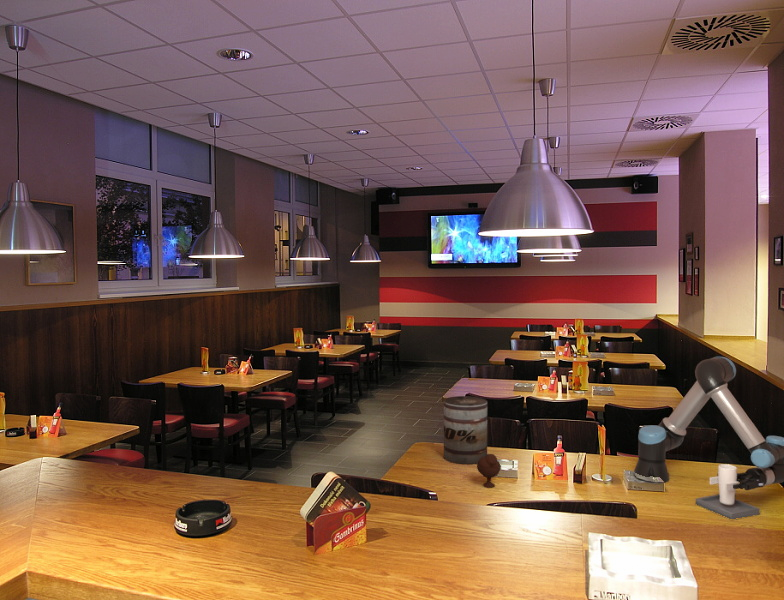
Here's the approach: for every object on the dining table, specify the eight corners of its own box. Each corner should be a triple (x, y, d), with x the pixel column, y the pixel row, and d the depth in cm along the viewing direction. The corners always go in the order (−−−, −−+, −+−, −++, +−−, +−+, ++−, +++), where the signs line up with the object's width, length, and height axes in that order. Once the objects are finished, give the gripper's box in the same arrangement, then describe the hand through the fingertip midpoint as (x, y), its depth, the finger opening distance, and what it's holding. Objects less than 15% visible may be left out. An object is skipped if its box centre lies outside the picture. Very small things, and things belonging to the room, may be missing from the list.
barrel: (434, 456, 316) (434, 400, 314) (465, 448, 329) (465, 394, 328) (464, 467, 298) (464, 407, 296) (496, 458, 311) (496, 401, 310)
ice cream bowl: (502, 482, 276) (502, 450, 276) (498, 491, 266) (498, 458, 265) (479, 480, 280) (479, 448, 279) (474, 488, 269) (474, 456, 269)
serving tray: (695, 504, 250) (695, 498, 250) (722, 499, 255) (722, 493, 255) (731, 520, 234) (731, 514, 234) (759, 514, 240) (759, 508, 239)
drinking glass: (739, 506, 241) (739, 470, 240) (720, 505, 242) (721, 469, 241) (733, 500, 247) (733, 464, 247) (715, 499, 249) (715, 463, 248)
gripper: (781, 493, 242) (739, 502, 234) (737, 477, 260) (697, 485, 252) (781, 475, 241) (739, 483, 233) (738, 460, 260) (698, 467, 251)
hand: (718, 484), depth 242 cm, fingers open, 7 cm apart
